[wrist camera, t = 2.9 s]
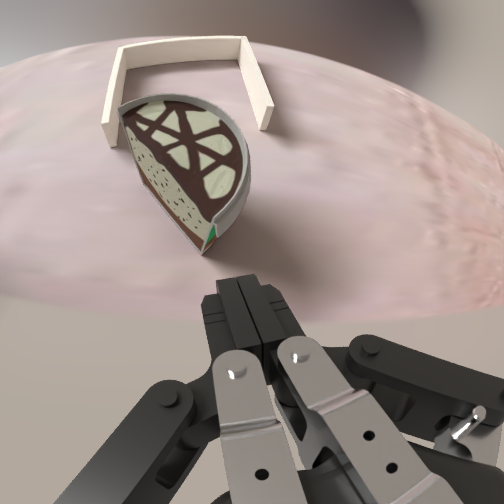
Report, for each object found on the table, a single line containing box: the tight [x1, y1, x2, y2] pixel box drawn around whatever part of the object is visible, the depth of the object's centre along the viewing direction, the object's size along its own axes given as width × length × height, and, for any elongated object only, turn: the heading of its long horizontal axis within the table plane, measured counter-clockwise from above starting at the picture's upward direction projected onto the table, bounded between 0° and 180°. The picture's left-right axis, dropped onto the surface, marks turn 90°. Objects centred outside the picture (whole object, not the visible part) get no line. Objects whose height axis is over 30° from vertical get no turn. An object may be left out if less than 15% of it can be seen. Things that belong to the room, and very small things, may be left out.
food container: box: [117, 93, 251, 256], centre depth 21 cm, size 12×6×10 cm, turn 43°
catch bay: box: [101, 36, 274, 147], centre depth 28 cm, size 18×16×4 cm
